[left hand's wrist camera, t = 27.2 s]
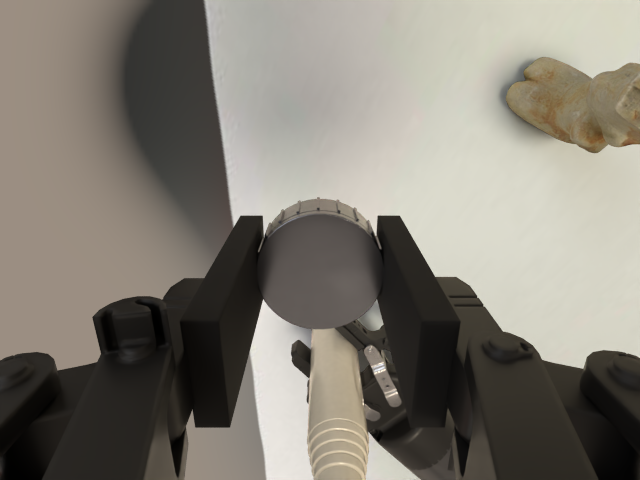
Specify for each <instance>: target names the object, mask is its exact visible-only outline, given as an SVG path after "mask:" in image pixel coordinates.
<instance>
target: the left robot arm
mask: <svg viewBox="0 0 640 480" xmlns="http://www.w3.org/2000/svg"><path fill="white" fill-rule="evenodd" d="M377 237H378V239H379V242H380V245H381V248H382V251H381V253H382V256H383V261H384V268H383V283H382V289H381V292H380V294H379V296H378V298H377V300H378V304H379V308H380V312H381V315H382V319H383V323H384V327H385V331H386V335H387V339H388V343H389V346H390V350H391V354H392V358H393V362H394V366H395V370H396V374H397V377H398V381H399V385H400V389H401V393H402V397H403V401H404V405H405V408H406V412H407V416H408V420H409V424H410V427H445V423H446V417H447V410H448V409H449V411H450V414H451V416H452V419H453V422H454V424H455V425H454V431H453V438H452V444H451V450H450V456H449V463H448V470H450V471H453V468H454V467H455V476H456V480H640V358H638V357H637V356H634V355H631V354H626V353H623V352H618V351H606V350H603V351H597V352H593V353H591V354H590V355H589V356H588V357H587V359H586V362H585V366H584V369H581V368H576V367H571V366H566V365H561V364H556V363H551V362H547V361H544V360H542V359H541V357H540V355H539V353H538V352H537V350H536V349H535V348H534V347H533V345H531V344H530V343H528V342H527V341H525V340H524V339H523V338H520V337H518V336H516V335H513V334H511V333H507V332H503V331H502V330H501V328H500V327H499V326H498V324H497V323H496V321H495V320H494V319H493V317H492V316H491V315H490V313H489V312H488V310H487V309H486V308H485V307H483V303H482V302H481V301H480V299H479V298H477V295H476V294H475V292H474V291H473V290H472V288H471V287H470V286H469V285H468V284H466V283H465V282H463V281H461V280H460V279H458V278H457V277H435V276H434V274H433V272H432V271H431V269H430V267H429V266H428V264H427V262H426V260H425V259H424V257H423V255H422V253H421V252H420V250H419V248H418V247H417V245H416V243H415V241H414V240H413V238H412V236H411V234H410V233H409V231H408V229H407V228H406V226H405V224H404V222H403V221H402V219H401V217H400V216H378V220H377ZM262 239H264V233H263V216H240V218H239V219H238V221H237V223H236V225H235V226H234V228H233V230H232V232H231V233H230V235H229V237H228V239H227V240H226V242H225V244H224V246H223V247H222V249H221V251H220V252H219V254H218V256H217V257H216V259H215V261H214V263H213V264H212V266H211V268H210V270H209V271H208V273H207V275H206V276H205V278H184V279H183V280H181V281H180V282H178V283H176V284H175V285H173V286H172V287H171V288H170V289H169V290H168V292H167V293H166V295H165V296H164V298H163V300H161V299H158V298H154V297H150V296H137V297H132V298H126V299H122V300H119V301H117V302H113V303H111V304H109V305H107V306H105V307H104V308H102V309H100V310H99V311H98V312H97V313H96V314H95V315H94V316H93V322H94V326H95V330H96V334H97V338H98V343H99V347H100V351H101V355H100V358H99V360H98V362H96V363H92V364H88V365H84V366H79V367H74V368H69V369H64V370H59V371H57V368H56V364H55V361H54V359H53V358H52V357H51V356H50V355H48V354H45V353H39V352H33V353H22V354H17V355H15V356H10V357H6V358H4V359H2V360H0V480H184V477H185V468H186V459H187V451H188V438H187V431H186V424H187V422H188V419H189V417H190V414H191V411H192V409H193V415H194V422H195V427H230V425H231V421H232V417H233V413H234V409H235V406H236V402H237V398H238V394H239V390H240V386H241V382H242V378H243V375H244V371H245V367H246V363H247V359H248V355H249V351H250V347H251V344H252V340H253V336H254V332H255V328H256V324H257V320H258V317H259V313H260V309H261V305H262V301H263V297H262V295H261V293H260V291H259V288H258V279H257V258H258V250H259V247H260V245H261V242H262Z"/></svg>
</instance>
